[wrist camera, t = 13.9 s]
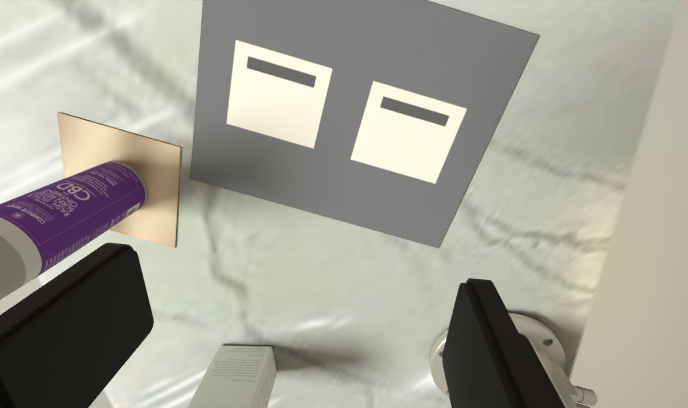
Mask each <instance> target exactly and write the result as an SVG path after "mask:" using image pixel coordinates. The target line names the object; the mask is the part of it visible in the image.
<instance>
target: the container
mask: <svg viewBox="0 0 688 408" xmlns="http://www.w3.org/2000/svg"><path fill="white" fill-rule="evenodd" d="M148 196H149V191H148V186H147V184H146V181H145V180H144V178H143V177H142V175H141V174H140V173H139V172H138V171H137V170H136V169H135V168H133V167H132V166H130V165H128V164H126V163H123V162H120V161H108V162H105V163H103V164H100V165H97V166H95V167H92V168H90V169H87V170H85V171H82V172H80V173H77V174H75V175H72V176H70V177H67V178H65V179H62V180H60V181H57V182H55V183H52V184H50V185H47V186H45V187H42V188H40V189H37V190H35V191H32V192H30V193H27V194H25V195H22V196H20V197H17V198H15V199H12V200H10V201H7V202H5V203H2V204H0V300H1V299H2V298H4V297H5V296H7V295H9V294H10V293H11V292H13V291H15V290H17V289H18V288H20V287H21V286H23V285H25V284H26V283H28V282H29V281H31V280H33V279H34V278H36V277H38V276H39V275H41V274H42V273H44V272H45V271H47V270H48V269H50V268H51V267H53V266H54V265H56V264H57V263H59V262H60V261H62V260H63V259H65V258H66V257H68V256H69V255H71V254H72V253H74V252H75V251H77V250H78V249H80V248H81V247H83V246H84V245H86V244H88V243H89V242H91V241H92V240H94V239H95V238H97V237H98V236H100V235H101V234H103V233H104V232H106V231H107V230H109V229H110V228H112V227H113V226H115V225H116V224H118V223H119V222H121V221H122V220H124V219H125V218H127V217H128V216H130V215H131V214H133V213H134V212H136V211H137V210H139V209H140V208H142V207H143V206H144V205H145V204H146V202H147V200H148Z"/></svg>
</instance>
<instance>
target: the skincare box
mask: <svg viewBox="0 0 688 408" xmlns="http://www.w3.org/2000/svg"><path fill="white" fill-rule="evenodd" d="M276 375H277V372H276V365H275V359H274V354H273V350H272V347H270V346H220V347H219V348H218V350H217V352H216V354H215V356H214V358H213V360H212V362H211V364H210V366H209V368H208V369H207V371H206V373H205V375H204V377H203V379H202V381H201V383H200V385H199V387H198V389H197V391H196V392H195V394H194V396H193V398H192V400H191V402H190V404H189V406H188V408H267V406H268V402H269V399H270V395H271V392H272V389H273V385H274V381H275V378H276Z"/></svg>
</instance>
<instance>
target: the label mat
mask: <svg viewBox="0 0 688 408" xmlns="http://www.w3.org/2000/svg"><path fill="white" fill-rule="evenodd" d="M538 37H539V35H536V34H533V33H530V32H526V31H523V30H520V29H517V28H513V27H510V26H507V25H504V24H500V23H497V22H494V21H491V20H488V19H484V18H481V17H478V16H475V15H471V14H468V13H465V12H462V11H458V10H455V9H452V8H449V7H445V6H442V5H439V4H436V3H433V2H429V1H426V0H203V7H202V22H201V36H200V50H199V65H198V79H197V93H196V108H195V122H194V136H193V150H192V165H191V179H194V180H197V181H201V182H204V183H208V184H212V185H215V186H219V187H222V188H226V189H229V190H233V191H237V192H240V193H244V194H247V195H251V196H254V197H258V198H261V199H265V200H269V201H272V202H276V203H279V204H283V205H286V206H290V207H293V208H297V209H301V210H304V211H308V212H311V213H315V214H318V215H322V216H325V217H329V218H333V219H336V220H340V221H343V222H347V223H350V224H354V225H357V226H361V227H365V228H368V229H372V230H375V231H379V232H382V233H386V234H389V235H393V236H397V237H400V238H404V239H407V240H411V241H414V242H418V243H421V244H425V245H429V246H432V247H436V248H439V246H440V244H441V242H442V240H443V238H444V236H445V234H446V232H447V230H448V227H449V225H450V223H451V221H452V219H453V217H454V215H455V213H456V211H457V208H458V206H459V204H460V202H461V200H462V198H463V196H464V194H465V191H466V189H467V187H468V185H469V183H470V181H471V179H472V177H473V175H474V172H475V170H476V168H477V166H478V164H479V162H480V160H481V158H482V156H483V153H484V151H485V149H486V147H487V145H488V143H489V141H490V139H491V137H492V134H493V132H494V130H495V128H496V126H497V124H498V122H499V120H500V118H501V115H502V113H503V111H504V109H505V107H506V105H507V103H508V101H509V99H510V96H511V94H512V92H513V90H514V88H515V86H516V84H517V82H518V80H519V77H520V75H521V73H522V71H523V69H524V67H525V65H526V63H527V61H528V58H529V56H530V54H531V52H532V50H533V48H534V46H535V44H536V42H537V39H538Z"/></svg>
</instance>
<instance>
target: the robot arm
mask: <svg viewBox="0 0 688 408" xmlns="http://www.w3.org/2000/svg"><path fill="white" fill-rule="evenodd" d="M153 323H154V320H153V315H152V311H151V307H150V303H149V299H148V295H147V291H146V286H145V282H144V278H143V274H142V270H141V266H140V262H139V258H138V254H137V252H136V251H134V250H133V248H132V247H131V246H130V245H127V244H117V243H106V244H104V245H102V246H101V247H99V248H98V249H96V250H95V251H93V252H92V253H90V254H89V255H87V256H86V257H85V258H83V259H82V260H80V261H79V262H77V263H76V264H74V265H73V266H71V267H70V268H68V269H67V270H66V271H64V272H63V273H61V274H60V275H58V276H57V277H55V278H54V279H52V280H51V281H49V282H48V283H46V284H45V285H44V286H42V287H41V288H39V289H38V290H36V291H35V292H33V293H32V294H30V295H29V296H28V297H26V298H25V299H23V300H22V301H20V302H19V303H17V304H16V305H14V306H13V307H11V308H10V309H8V310H7V311H6V312H4V313H3V314H2V315H0V408H88V407H89V406H90V405H91V404H92V402H93V401H94V400H95V399H96V397H97V396H98V395H99V394H100V393H101V391H102V390H103V389H104V388H105V387H106V385H107V384H108V383H109V382H110V380H111V379H112V378H113V377H114V376H115V374H116V373H117V372H118V371H119V370H120V368H121V367H122V366H123V365H124V364H125V362H126V361H127V360H128V359H129V357H130V356H131V355H132V354H133V353H134V351H135V350H136V349H137V348H138V347H139V345H140V344H141V343H142V342H143V340H144V339H145V338H146V337H147V336H148V334H149V333H150V332H151V330H152V328H153ZM564 367H565V353H564V350H563V347H562V345H561V344H560V342H559V340H558V339H557V337H556V336H555V335H554V333H553V332H552V331H551V330H550V329H549V328H548V327H547V326H545V325H544V324H543V323H541V322H539V321H537V320H535V319H533V318H531V317H527V316H524V315H520V314H514V313H508V311H507V309H506V307H505V305H504V303H503V301H502V299H501V297H500V296H499V294H498V292H497V290H496V288H495V286H494V284H493V282H492V281H490V280H482V279H472V278H469V279H468V280H467V282H466V283H461V284H460V286H459V289H458V293H457V297H456V301H455V305H454V309H453V313H452V317H451V321H450V325H449V329H447V330H446V331H445V332H444V333H443V334H442V335H441V336H440V337H439V338H438V339H437V341H436V342H435V344H434V346H433V348H432V351H431V354H430V368H431V374H432V377H433V380H434V382H435V384H436V385H437V387H438V388H439V389H440V390H441V391H442V392H443V393H444V394H445V395H446V396H448V397H449V398H450V402H451V406H452V408H590V407H588V406H585V405H582V404H578V403H575V402H576V401H577V402H579V403H583V404H586V405H590V406H594V405H595V404H596V402H597V396H596V394H595V392H594V391H592V390H589V389H586V388H582V387H579V386H573V385H572V384H571V382H570V381H569V379H568V377H567V376H566V374H565V372H564V371H563V370H564Z"/></svg>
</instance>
